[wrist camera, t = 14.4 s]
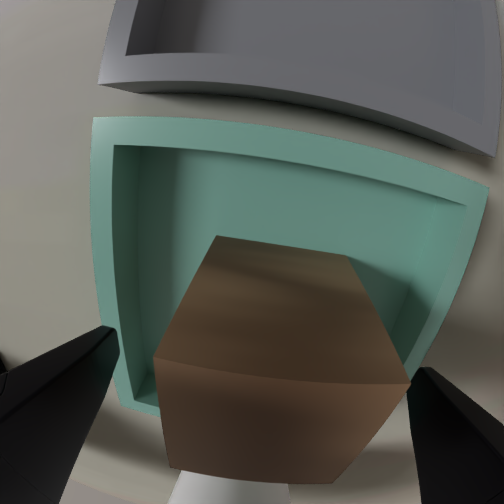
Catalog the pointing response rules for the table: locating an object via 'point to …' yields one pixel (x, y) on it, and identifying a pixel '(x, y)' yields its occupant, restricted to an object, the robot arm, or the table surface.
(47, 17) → the table surface
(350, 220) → the tray
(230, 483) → the foam cup
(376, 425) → the walnut block
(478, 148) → the tray
